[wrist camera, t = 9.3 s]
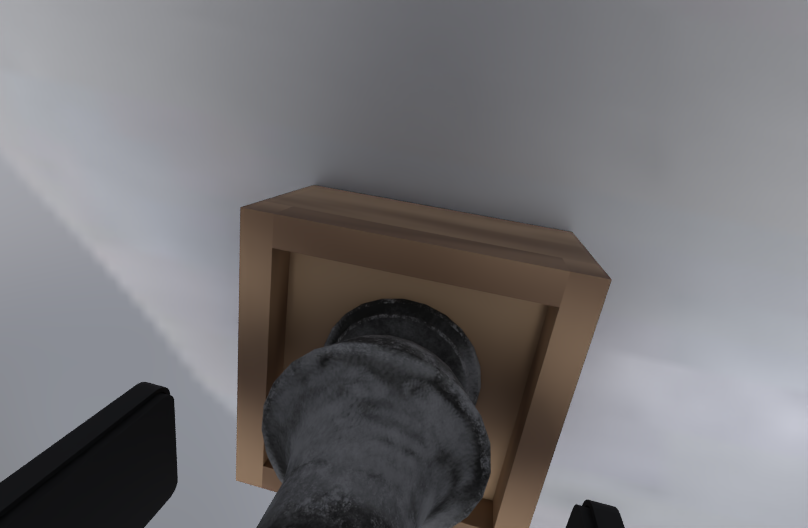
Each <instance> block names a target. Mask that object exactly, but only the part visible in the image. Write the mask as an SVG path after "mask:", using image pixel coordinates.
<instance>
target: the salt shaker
mask: <svg viewBox="0 0 808 528" xmlns="http://www.w3.org/2000/svg"><path fill="white" fill-rule="evenodd" d="M480 389H481V371H480V364H479V361H478V358H477V355H476V352H475V349H474V346H473V345H472V343H471V342H470V340H469V339H468V337H467V336H466V334H465V333H464V331H463V330H462V329H461V328H460V327H459V326H458V325H457V324H455V323H454V322H453V321H452V320H451V319H450V318H449V317H448V316H447V315H445V314H443V313H441V312H440V311H438V310H436V309H434V308H432V307H430V306H428V305H426V304H423V303H419V302H415V301H411V300H407V299H379V300H375V301H371V302H367V303H363V304H361V305H359V306H358V307H356V308H354V309H353V310H351V311H349V312H347V313H346V314H345V315H344V316H343V317H342V318H341V319H340V320H339V321H338V322H337V324H336V325H335V326H334V327H333V328H332V329H331V332H330V334H329V336H328V338H327V340H326V342H325V344H324V347H321V348H317V349H314V350H312V351H311V352H309V353H307V354H305V355H304V356H302V357H300V358H298V359H297V360H295V361H293V362H292V363H291V364H290V365H289V366H288V367H287V368H286V369H285V370H284V372H283V373H282V374H281V375H280V376H279V377H278V378H277V379H276V380H275V381H274V383H273V385H272V387H271V389H270V392H269V394H268V396H267V399H266V401H265V403H264V407H263V418H262V434H263V439H264V444H265V449H266V454H267V456H268V458H269V460H270V462H271V465H272V467H273V469H274V471H275V473H276V475H277V477H278V479H279V480H280V481H281V482H282V485H281V487H280V488H279V490H278V492H277V493H276V495H275V497H274V499H273V500H272V502H271V504H270V505H269V507H268V509H267V511H266V512H265V514H264V516H263V517H262V519H261V521H260V523H259V524H258V526H257V528H452V527H453V526H455V525H456V524H458V523H459V522H461V521H462V520H464V519H465V518H467V517H468V516H469V514H470V513H471V512H472V511H473V509H474V508H475V507H476V505H477V504H478V503H479V502H480V500H481V499H482V498H483V495H484V492H485V489H486V486H487V483H488V480H489V477H490V474H491V445H490V440H489V437H488V434H487V431H486V428H485V425H484V422H483V419H482V417H481V415H480V413H479V412H478V410H477V409H476V407H475V406H476V403H477V399H478V396H479V392H480Z"/></svg>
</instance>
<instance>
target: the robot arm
mask: <svg viewBox="0 0 808 528" xmlns="http://www.w3.org/2000/svg"><path fill="white" fill-rule="evenodd" d="M175 432H176V431H175V410H174V398H173V397H172V396H171V395H170V392H169V390H168V388H166V387H162V386H158V385H155V384H151V383H147V382H141V383H139V384H137V385H135V386H134V387H133V388H131V389H130V390H129V391H127V392H126V393H125V394H123V395H122V396H120V397H119V398H117V399H116V400H115V401H113V402H112V403H110V404H109V405H108V406H106V407H105V408H103V409H102V410H101V411H99V412H98V413H97V414H95V415H94V416H92V417H91V418H90V419H88V420H87V421H86V422H84V423H83V424H81V425H80V426H78V427H77V428H76V429H74V430H73V431H71V432H70V433H69V434H67V435H66V436H65V437H63V438H62V439H60V440H59V441H58V442H56V443H55V444H53V445H52V446H51V447H49V448H48V449H46V450H45V451H44V452H42V453H41V454H39V455H38V456H37V457H35V458H34V459H33V460H31V461H30V462H28V463H27V464H26V465H24V466H23V467H21V468H20V469H19V470H17V471H16V472H15V473H13V474H12V475H10V476H9V477H7V478H6V479H5V480H3V481H2V482H1V483H0V528H144V527H145V526H146V525H147V524H148V522H149V521H150V520H151V519H152V518H153V517H154V516H155V514H156V513H157V512H158V511H159V510H160V509H161V508H162V506H163V505H164V504H165V503H166V501H168V499H169V498H170V497H171V496H172V494H173V492H174V490H175V488H176V485H177V478H178V477H177V455H176V433H175ZM566 528H625V527H624V524H623V521H622V518H621V515H620V513H619V511H618V509H617V508H616V507H614V506H610V505H606V504H602V503H599V502H595V501H591V500H585V501H584V503H583V505H582V506H581V505H577V504H576V505H575V506H574V507H573V510H572V512H571V515H570V518H569V520H568V523H567V526H566Z"/></svg>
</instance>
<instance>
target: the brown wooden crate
mask: <svg viewBox="0 0 808 528" xmlns="http://www.w3.org/2000/svg"><path fill="white" fill-rule="evenodd" d="M611 280H612V279H611V278H610V277H609V276H608V275H607V273H606V272H605V271H604V270H603V269H602V267H601V266H600V265H599V264H598V263H597V261H596V260H595V259H594V258H593V257H592V255H591V254H590V253H589V252H588V251H587V249H586V248H585V247H584V246H583V245H582V243H581V242H580V241H579V240H578V238H577V237H576V236H575V235H574V234H573V232H569V231H563V230H558V229H552V228H547V227H541V226H536V225H530V224H525V223H519V222H514V221H508V220H503V219H497V218H492V217H486V216H481V215H476V214H470V213H465V212H459V211H454V210H448V209H443V208H437V207H432V206H426V205H421V204H415V203H410V202H404V201H399V200H393V199H388V198H382V197H377V196H371V195H366V194H360V193H355V192H349V191H344V190H338V189H333V188H327V187H322V186H316V185H312V186H309V187H305V188H302V189H299V190H296V191H292V192H289V193H286V194H283V195H279V196H276V197H273V198H269V199H266V200H263V201H260V202H256V203H253V204H250V205H246V206H243V207H240V268H239V329H238V391H237V453H236V455H237V456H236V480H237V481H240V482H244V483H247V484H250V485H254V486H258V487H261V488H264V489H267V490H271V491H274V492H278V490H279V488H280V487H281V485H282V482H281V481H280V480H279V479H278V477H277V475H276V473H275V471H274V469H273V467H272V465H271V462H270V460H269V458H268V456H267V454H266V449H265V444H264V439H263V434H262V418H263V407H264V403H265V401H266V399H267V396H268V394H269V392H270V389H271V387H272V385H273V383H274V381H275V380H276V379H277V378H278V377H279V376H280V375H281V374H282V373H283V372H284V370H285V369H286V368H287V367H288V366H289V365H290V364H291V363H292V362H293V361H295V360H297V359H298V358H300V357H302V356H304V355H305V354H307V353H309V352H311V351H312V350H314V349H317V348H321V347H324V344H325V342H326V340H327V338H328V336H329V334H330V332H331V329H332V328H333V327H334V326H335V325H336V324H337V322H338V321H339V320H340V319H341V318H342V317H343V316H344V315H345V314H346V313H347V312H349V311H351V310H353V309H354V308H356V307H358V306H359V305H361V304H363V303H367V302H371V301H375V300H379V299H407V300H411V301H415V302H419V303H423V304H426V305H428V306H430V307H432V308H434V309H436V310H438V311H440V312H441V313H443V314H445V315H447V316H448V317H449V318H450V319H451V320H452V321H453V322H454V323H455V324H457V325H458V326H459V327H460V328H461V329H462V330H463V331H464V333H465V334H466V336H467V337H468V339H469V340H470V342H471V343H472V345H473V346H474V349H475V352H476V355H477V358H478V361H479V364H480V371H481V389H480V392H479V396H478V399H477V403H476V406H475V407H476V409H477V410H478V412H479V413H480V415H481V417H482V419H483V422H484V425H485V428H486V431H487V434H488V437H489V440H490V445H491V474H490V477H489V480H488V483H487V486H486V489H485V492H484V495H483V498H482V499H481V500H480V502H479V503H478V504H477V505H476V507H475V508H474V509H473V511H472V512H471V513H470V514H469V516H468V517H467V518H465V519H464V520H462V521H461V522H459V523H458V524H456V525H455V526H453V527H452V528H529V526H530V523H531V520H532V517H533V514H534V511H535V508H536V505H537V502H538V499H539V496H540V493H541V490H542V487H543V484H544V481H545V478H546V475H547V472H548V469H549V466H550V463H551V460H552V457H553V454H554V451H555V448H556V445H557V442H558V439H559V436H560V433H561V430H562V427H563V424H564V421H565V418H566V415H567V412H568V409H569V406H570V403H571V400H572V397H573V394H574V391H575V388H576V385H577V382H578V379H579V376H580V373H581V370H582V367H583V364H584V361H585V358H586V355H587V352H588V349H589V346H590V343H591V340H592V337H593V334H594V331H595V328H596V325H597V322H598V319H599V316H600V313H601V310H602V307H603V304H604V301H605V298H606V295H607V292H608V289H609V286H610V283H611Z"/></svg>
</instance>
